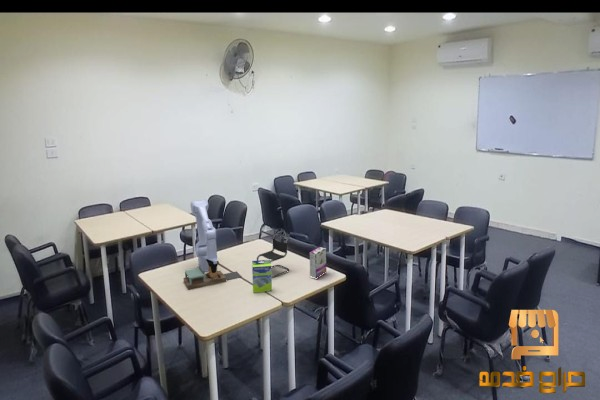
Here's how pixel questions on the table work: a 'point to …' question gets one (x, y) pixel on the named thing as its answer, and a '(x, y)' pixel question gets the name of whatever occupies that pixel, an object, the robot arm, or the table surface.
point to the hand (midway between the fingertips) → (212, 271)
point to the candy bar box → (317, 262)
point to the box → (262, 276)
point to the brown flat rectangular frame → (200, 281)
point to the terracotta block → (212, 273)
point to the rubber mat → (232, 275)
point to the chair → (280, 247)
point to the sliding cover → (195, 273)
